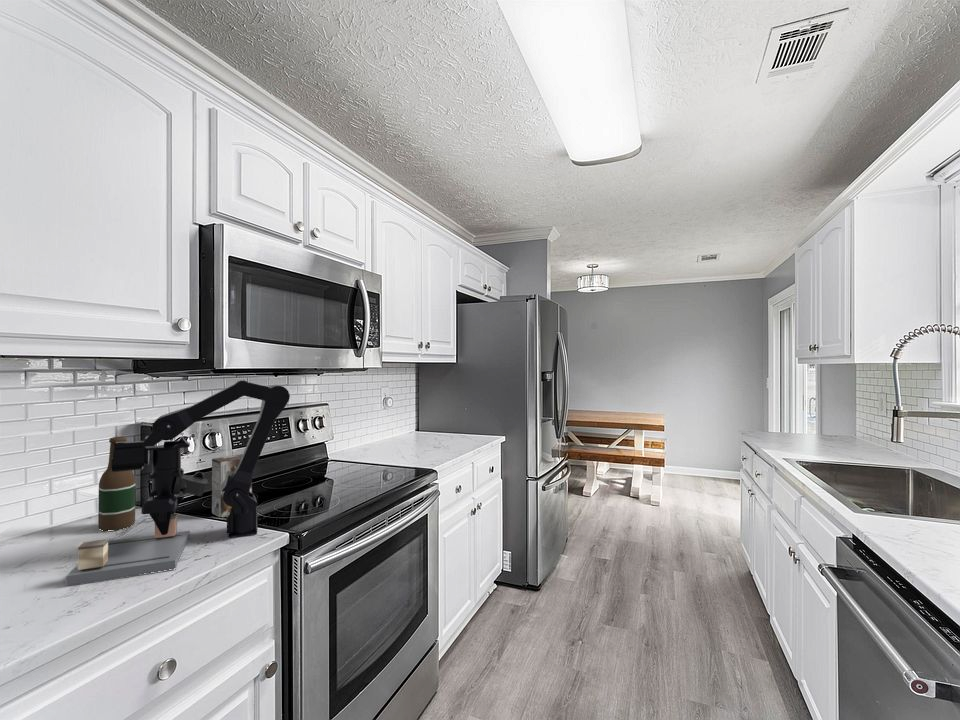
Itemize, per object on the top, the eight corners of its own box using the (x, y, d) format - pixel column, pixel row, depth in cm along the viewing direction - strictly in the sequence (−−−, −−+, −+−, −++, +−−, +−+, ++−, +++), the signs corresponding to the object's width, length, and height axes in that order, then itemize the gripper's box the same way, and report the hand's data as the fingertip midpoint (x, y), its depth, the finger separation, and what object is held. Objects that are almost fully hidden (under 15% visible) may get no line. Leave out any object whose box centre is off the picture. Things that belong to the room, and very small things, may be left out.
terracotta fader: (177, 531, 114) (177, 513, 114) (174, 535, 111) (174, 516, 111) (157, 533, 112) (157, 515, 112) (154, 538, 109) (154, 519, 109)
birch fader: (108, 560, 97) (108, 539, 97) (103, 566, 94) (103, 544, 94) (83, 564, 95) (83, 542, 95) (77, 570, 92) (77, 547, 92)
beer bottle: (115, 533, 119) (117, 439, 119) (90, 531, 120) (91, 438, 121) (142, 523, 127) (143, 435, 127) (117, 521, 128) (118, 434, 128)
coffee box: (243, 506, 142) (243, 453, 142) (252, 510, 138) (253, 456, 138) (210, 513, 135) (211, 458, 135) (219, 518, 131) (220, 461, 131)
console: (189, 538, 115) (189, 530, 115) (175, 569, 98) (175, 559, 98) (99, 550, 108) (99, 541, 108) (66, 586, 91) (66, 575, 91)
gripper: (200, 472, 106) (199, 540, 106) (209, 457, 123) (209, 516, 123) (141, 477, 102) (140, 548, 102) (159, 460, 119) (159, 521, 119)
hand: (166, 532), depth 111 cm, fingers closed on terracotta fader, 3 cm apart
